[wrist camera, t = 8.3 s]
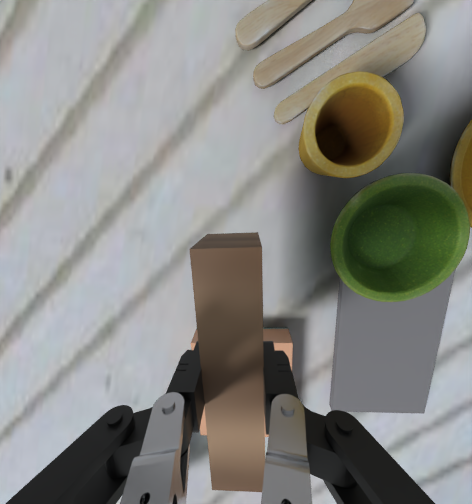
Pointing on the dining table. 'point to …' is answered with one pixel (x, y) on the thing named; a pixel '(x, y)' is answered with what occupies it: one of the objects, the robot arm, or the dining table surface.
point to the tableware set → (369, 150)
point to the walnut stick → (231, 356)
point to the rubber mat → (386, 351)
